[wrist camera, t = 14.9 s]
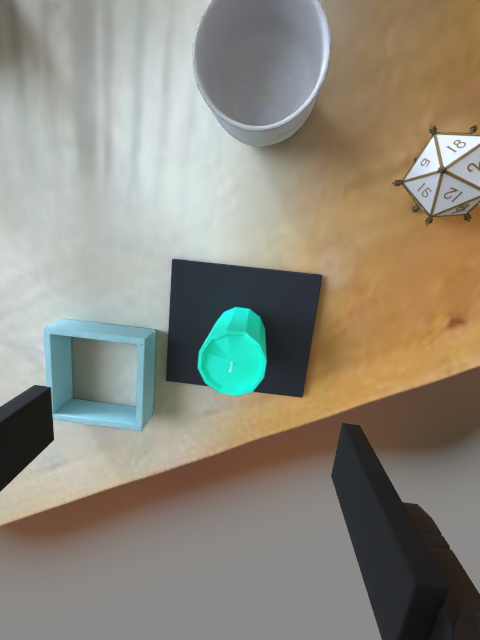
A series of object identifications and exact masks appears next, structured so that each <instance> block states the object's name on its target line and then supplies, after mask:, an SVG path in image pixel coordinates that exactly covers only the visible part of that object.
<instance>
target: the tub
mask: <svg viewBox="0 0 480 640" xmlns="http://www.w3.org/2000/svg"><path fill="white" fill-rule="evenodd" d="M43 329H44V349H45V369H46V386H47V387H51V393H52V413H53V420H59V421H67V422H75V423H83V424H90V425H98V426H106V427H113V428H121V429H129V430H136V431H142V430H143V429H144V427H145V425H146V424H147V422H148V421H149V419H150V418H151V416H152V415H153V404H154V379H155V354H156V329H148V328H139V327H131V326H122V325H114V324H105V323H97V322H88V321H79V320H71V319H63V320H61V321H58V322H55V323H52V324H50V325H47V326H44V327H43ZM71 337H79V338H88V339H96V340H105V341H113V342H121V343H130V344H138V355H137V394H136V407H134V406H127V405H119V404H111V403H103V402H95V401H87V400H79V399H73V384H72V347H71Z"/></svg>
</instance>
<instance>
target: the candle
mask: <svg viewBox="0 0 480 640" xmlns="http://www.w3.org/2000/svg"><path fill="white" fill-rule="evenodd" d="M266 362H267V357H266V338H265V328H264V325H263V323H262V320H261V318H260V316H258V315H257V314H256V313H254V312H253V311H252V310H250V309H247V308H240V307H235V308H232V309H230V310H228V311H225V312H224V313H223V314H222V315H221V316H220V318H219V319H218V320H217V322H216V323H215V325H214V327H213V328H212V330H211V332H210V333H209V335H208V337H207V339H206V340H205V342H204V344H203V345H202V347H201V349H200V350H199V357H198V370H199V372H200V374H201V376H202V378H203V380H204V382H205V383H206V384H207V385H209V386H210V387H212V388H213V389H215V390H216V391H218V392H219V393H224V394H229V395H234V396H238V395H242V394H246V393H249V392H253V391H254V390H255V388H256V387H257V386H258V385H259V383H260V382H261V381H262V380H263V378H264V375H265V369H266Z"/></svg>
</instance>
